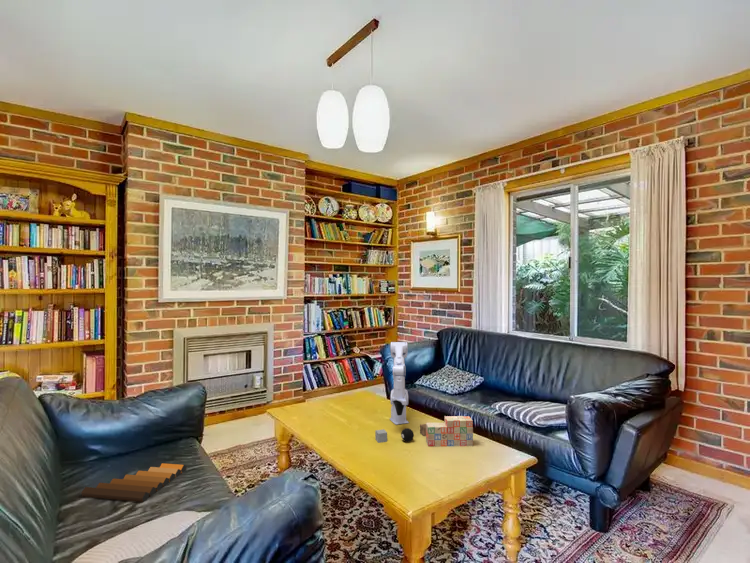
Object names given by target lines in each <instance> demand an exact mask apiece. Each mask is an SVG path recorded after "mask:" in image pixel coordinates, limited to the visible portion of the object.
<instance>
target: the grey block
mask: <svg viewBox="0 0 750 563" xmlns="http://www.w3.org/2000/svg"><path fill="white" fill-rule="evenodd" d="M374 432H375V440H376V442H377V443H378V444H381V443H386V442H388V432H387V431H386V430H385V428H383V429H376V430H375V431H374Z"/></svg>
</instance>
